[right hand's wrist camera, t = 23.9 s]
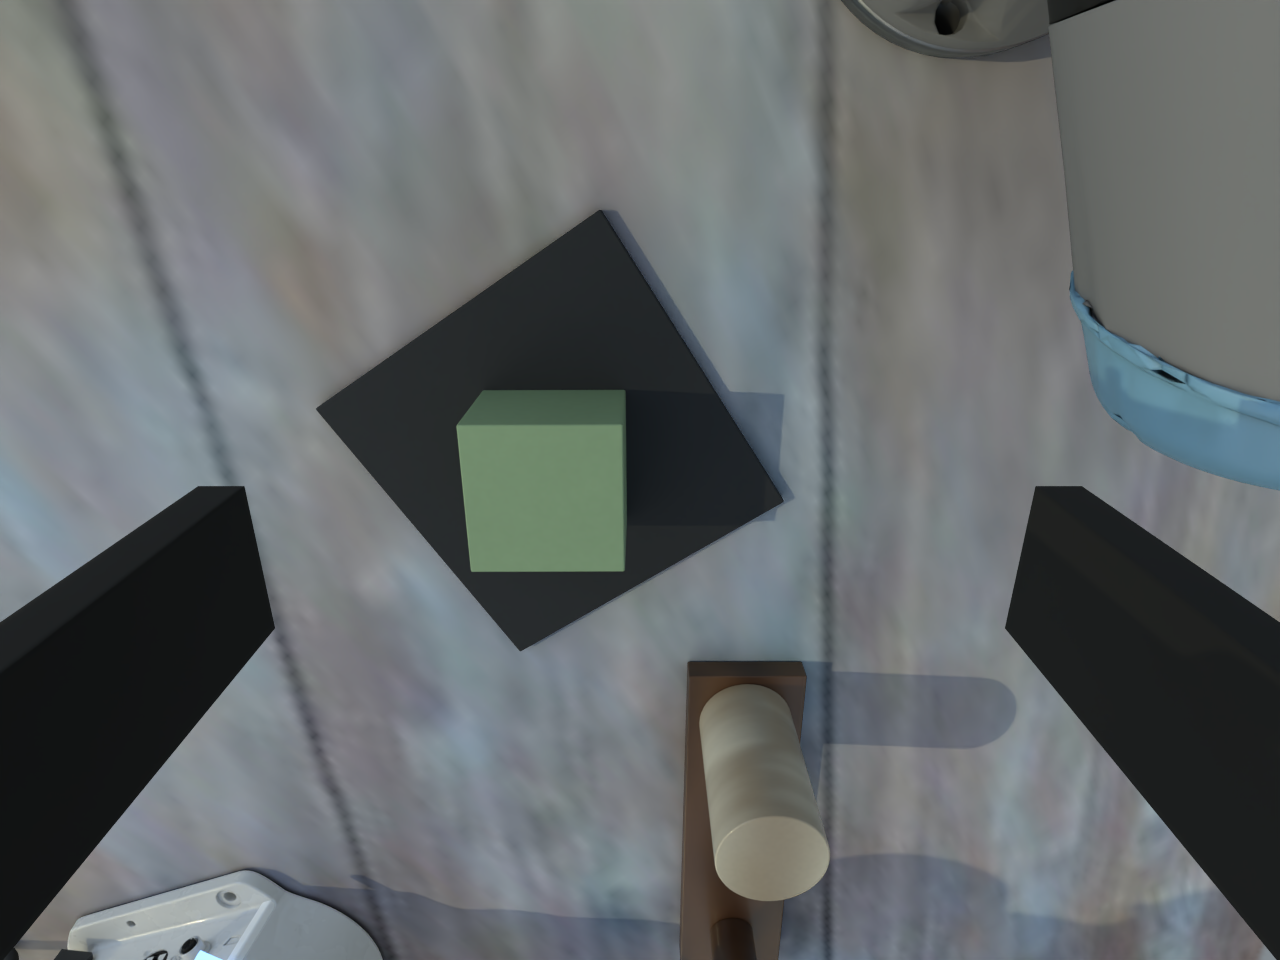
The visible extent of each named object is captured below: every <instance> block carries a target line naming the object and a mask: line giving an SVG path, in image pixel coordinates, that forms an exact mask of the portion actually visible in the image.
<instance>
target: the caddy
mask: <svg viewBox="0 0 1280 960" xmlns="http://www.w3.org/2000/svg"><path fill="white" fill-rule="evenodd" d="M806 678H807V676H806V673H805V670H804V667H803V664H802V662H688V665H687V700H686V735H685V770H684V805H683V841H682V876H681V911H680V960H778V955H779V946H780V936H781V926H782V916H783V906H784V899H789V898H792V897H795V896H798V895H800V894H802V893H804V892H806V891H808V890H809V889H811V888H812V887H813V886H815V885H816V884H817V883H818V882H819V881H820V880H821V878H822V877H823V876H824V874H825V872H826V870H827V868H828V865H829V861H830V849H829V845H828V841H827V838H826V834H825V831H824V827H823V824H822V820H821V817H820V813H819V810H818V806H817V803H816V799H815V796H814V792H813V789H812V785H811V782H810V778H809V775H808V771H807V768H806V764H805V761H804V757H803V754H802V750H801V747H800V738H801V728H802V718H803V708H804V698H805V688H806Z"/></svg>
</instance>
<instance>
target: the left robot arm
mask: <svg viewBox="0 0 1280 960" xmlns="http://www.w3.org/2000/svg"><path fill="white" fill-rule="evenodd" d="M67 947H68V950H65V949H62V950H61V951H60V952H59V954H58V955H57V956H56V958H55V959H54V960H383V958H382V956H381V953H380V951H379V949H378V947H377V945H376V944H375V942H374V941H373V939H372V938H371V937H370V936H369V934H368V933H367V932H366V931H365V930H364V929H363V928H362V927H360V926H359V925H358V924H357V923H356V922H355V921H353V920H352V919H350V918H349V917H347V916H346V915H344V914H343V913H341V912H339V911H337V910H336V909H333V908H331V907H329V906H327V905H325V904H322V903H320V902H317V901H314V900H311V899H308V898H305V897H301V896H298V895H295V894H293V893H290V892H288V891H286V890H284V889H283V888H281V887H280V886H279V885H277V884H276V883H274V882H273V881H271V880H270V879H268V878H266V877H265V876H263V875H261V874H259V873H256V872H253V871H248V870H244V871H238V872H235V873H231V874H228V875H224V876H221V877H218V878H214V879H211V880H207V881H204V882H200V883H197V884H193V885H190V886H186V887H183V888H179V889H176V890H172V891H169V892H166V893H162V894H159V895H155V896H152V897H148V898H145V899H141V900H138V901H134V902H131V903H127V904H124V905H121V906H117V907H114V908H110V909H107V910H103V911H100V912H96V913H93V914H90V915H86V916H84V917H81V918H79V919H78V920H77V921H76V923H75V924H74V926H73V928H72V929H71V931H70V933H69V937H68V945H67ZM4 960H19V955H18V952H17V951H16V950H15V948H13V949H12V950H11V951H10V952H9V953H8V955H7V956H6V957H5V958H4Z"/></svg>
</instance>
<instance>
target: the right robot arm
mask: <svg viewBox="0 0 1280 960" xmlns="http://www.w3.org/2000/svg"><path fill="white" fill-rule="evenodd" d="M841 1H842V2H843V3H844V4H845V5H846V7H847V8H848V9H849V10H850V11H851V12H852V13H853V14H854V15H855V16H856V17H857V18H858V19H859V20H860V21H861V22H862V23H863V24H864V25H866V26H867V27H868V28H870V29H871V30H872V31H874V32H875V33H876V34H878V35H879V36H881V37H883V38H885V39H886V40H888V41H890V42H891V43H894V44H896V45H898V46H900V47H903V48H905V49H908V50H911V51H914V52H917V53H920V54H925V55H930V56H936V57H947V58H967V57H976V56H983V55H989V54H993V53H997V52H1000V51H1004V50H1007V49H1010V48H1013V47H1016V46H1018V45H1021V44H1024V43H1027V42H1029V41H1032V40H1035V39H1037V38H1040V37H1042V36H1044V35H1047V34H1049V38H1050V47H1051V56H1052V65H1053V74H1054V83H1055V92H1056V101H1057V110H1058V119H1059V128H1060V137H1061V146H1062V155H1063V164H1064V173H1065V184H1066V195H1067V206H1068V218H1069V229H1070V240H1071V251H1072V263H1073V271H1072V273H1071V279H1070V289H1069V290H1070V299H1071V302H1072V306H1073V308H1074V310H1075V312H1076V314H1077V316H1078V318H1079V319H1080V321H1081V323H1082V328H1083V333H1084V340H1085V346H1086V352H1087V359H1088V365H1089V371H1090V377H1091V381H1092V385H1093V388H1094V390H1095V393H1096V395H1097V398H1098V399H1099V401H1100V403H1101V404H1102V406H1103V407H1104V409H1105V410H1106V411H1107V413H1108V414H1109V415H1110V416H1111V418H1113V419H1114V420H1115V421H1116V422H1118V423H1119V424H1120V425H1122V426H1123V427H1124V428H1126V429H1127V430H1129V431H1132V432H1133V433H1134V434H1135V435H1136V436H1137V437H1138V439H1139V440H1140V441H1141V442H1143V443H1144V444H1145V445H1147V446H1149V447H1150V448H1152V449H1154V450H1156V451H1158V452H1160V453H1162V454H1164V455H1166V456H1168V457H1170V458H1172V459H1174V460H1177V461H1179V462H1181V463H1183V464H1186V465H1189V466H1191V467H1194V468H1196V469H1199V470H1202V471H1205V472H1208V473H1211V474H1214V475H1217V476H1221V477H1224V478H1227V479H1231V480H1235V481H1238V482H1242V483H1247V484H1251V485H1255V486H1260V487H1265V488H1270V489H1275V490H1280V0H841ZM274 629H275V626H274V622H273V617H272V612H271V608H270V603H269V598H268V594H267V589H266V584H265V580H264V575H263V571H262V566H261V561H260V557H259V552H258V547H257V543H256V538H255V533H254V529H253V524H252V519H251V515H250V510H249V506H248V501H247V496H246V492H245V487H244V486H198V487H196V488H195V489H194V490H192V491H191V492H189V493H188V494H186V495H185V496H183V497H182V498H180V499H179V500H178V501H176V502H175V503H173V504H172V505H170V506H169V507H167V508H166V509H164V510H163V511H162V512H160V513H159V514H157V515H156V516H154V517H153V518H151V519H150V520H149V521H147V522H146V523H144V524H143V525H141V526H140V527H138V528H137V529H135V530H134V531H133V532H131V533H130V534H128V535H127V536H125V537H124V538H122V539H121V540H119V541H118V542H117V543H115V544H114V545H112V546H111V547H109V548H108V549H106V550H105V551H103V552H102V553H101V554H99V555H98V556H96V557H95V558H93V559H92V560H90V561H89V562H87V563H86V564H85V565H83V566H82V567H80V568H79V569H77V570H76V571H74V572H73V573H71V574H70V575H69V576H67V577H66V578H64V579H63V580H61V581H60V582H58V583H57V584H55V585H54V586H53V587H51V588H50V589H48V590H47V591H45V592H44V593H42V594H41V595H39V596H38V597H37V598H35V599H34V600H32V601H31V602H29V603H28V604H26V605H25V606H23V607H22V608H21V609H19V610H18V611H16V612H15V613H13V614H12V615H10V616H9V617H7V618H6V619H5V620H3V621H2V622H0V960H4V958H5V957H6V956H7V955H8V953H9V952H10V951H11V950H12V949H13V947H14V946H15V945H16V944H17V942H18V941H19V940H20V939H21V938H22V936H23V935H24V934H25V933H26V931H27V930H28V929H29V928H30V927H31V925H32V924H33V923H34V922H35V920H36V919H37V918H38V917H39V916H40V914H41V913H42V912H43V911H44V909H45V908H46V907H47V906H48V905H49V903H50V902H51V901H52V900H53V898H54V897H55V896H56V895H57V894H58V892H59V891H60V890H61V889H62V888H63V886H64V885H65V884H66V883H67V881H68V880H69V879H70V878H71V877H72V875H73V874H74V873H75V872H76V870H77V869H78V868H79V867H80V866H81V864H82V863H83V862H84V861H85V859H86V858H87V857H88V856H89V855H90V853H91V852H92V851H93V850H94V848H95V847H96V846H97V845H98V844H99V842H100V841H101V840H102V839H103V837H104V836H105V835H106V834H107V833H108V831H109V830H110V829H111V828H112V826H113V825H114V824H115V823H116V822H117V820H118V819H119V818H120V817H121V815H122V814H123V813H124V812H125V811H126V809H127V808H128V807H129V806H130V804H131V803H132V802H133V801H134V800H135V798H136V797H137V796H138V795H139V793H140V792H141V791H142V790H143V789H144V787H145V786H146V785H147V784H148V783H149V781H150V780H151V779H152V778H153V776H154V775H155V774H156V773H157V772H158V770H159V769H160V768H161V767H162V765H163V764H164V763H165V762H166V761H167V759H168V758H169V757H170V756H171V754H172V753H173V752H174V751H175V750H176V748H177V747H178V746H179V745H180V743H181V742H182V741H183V740H184V739H185V737H186V736H187V735H188V734H189V732H190V731H191V730H192V729H193V728H194V726H195V725H196V724H197V723H198V721H199V720H200V719H201V718H202V717H203V715H204V714H205V713H206V712H207V710H208V709H209V708H210V707H211V706H212V704H213V703H214V702H215V701H216V699H217V698H218V697H219V696H220V695H221V693H222V692H223V691H224V690H225V688H226V687H227V686H228V685H229V684H230V682H231V681H232V680H233V679H234V678H235V676H236V675H237V674H238V673H239V671H240V670H241V669H242V668H243V667H244V665H245V664H246V663H247V662H248V660H249V659H250V658H251V657H252V656H253V654H254V653H255V652H256V651H257V649H258V648H259V647H260V646H261V645H262V643H263V642H264V641H265V640H266V638H267V637H268V636H269V635H270V634H271V632H272V631H273V630H274ZM1005 629H1006V630H1007V631H1008V632H1009V634H1010V635H1011V636H1012V637H1013V638H1014V640H1015V641H1016V642H1017V643H1018V645H1019V646H1020V647H1021V648H1022V649H1023V651H1024V652H1025V653H1026V654H1027V656H1028V657H1029V658H1030V659H1031V660H1032V662H1033V663H1034V664H1035V665H1036V667H1037V668H1038V669H1039V670H1040V671H1041V673H1042V674H1043V675H1044V676H1045V678H1046V679H1047V680H1048V681H1049V682H1050V684H1051V685H1052V686H1053V687H1054V688H1055V690H1056V691H1057V692H1058V693H1059V695H1060V696H1061V697H1062V698H1063V699H1064V701H1065V702H1066V703H1067V704H1068V706H1069V707H1070V708H1071V709H1072V710H1073V712H1074V713H1075V714H1076V715H1077V717H1078V718H1079V719H1080V720H1081V721H1082V723H1083V724H1084V725H1085V726H1086V728H1087V729H1088V730H1089V731H1090V732H1091V734H1092V735H1093V736H1094V737H1095V739H1096V740H1097V741H1098V742H1099V743H1100V745H1101V746H1102V747H1103V748H1104V750H1105V751H1106V752H1107V753H1108V754H1109V756H1110V757H1111V758H1112V759H1113V761H1114V762H1115V763H1116V764H1117V765H1118V767H1119V768H1120V769H1121V770H1122V772H1123V773H1124V774H1125V775H1126V776H1127V778H1128V779H1129V780H1130V781H1131V783H1132V784H1133V785H1134V786H1135V787H1136V789H1137V790H1138V791H1139V792H1140V793H1141V795H1142V796H1143V797H1144V798H1145V800H1146V801H1147V802H1148V803H1149V804H1150V806H1151V807H1152V808H1153V809H1154V811H1155V812H1156V813H1157V814H1158V815H1159V817H1160V818H1161V819H1162V820H1163V822H1164V823H1165V824H1166V825H1167V826H1168V828H1169V829H1170V830H1171V831H1172V833H1173V834H1174V835H1175V836H1176V837H1177V839H1178V840H1179V841H1180V842H1181V844H1182V845H1183V846H1184V847H1185V848H1186V850H1187V851H1188V852H1189V853H1190V855H1191V856H1192V857H1193V858H1194V859H1195V861H1196V862H1197V863H1198V864H1199V866H1200V867H1201V868H1202V869H1203V870H1204V872H1205V873H1206V874H1207V875H1208V877H1209V878H1210V879H1211V880H1212V881H1213V883H1214V884H1215V885H1216V886H1217V888H1218V889H1219V890H1220V891H1221V892H1222V894H1223V895H1224V896H1225V897H1226V898H1227V900H1228V901H1229V902H1230V903H1231V905H1232V906H1233V907H1234V908H1235V909H1236V911H1237V912H1238V913H1239V914H1240V916H1241V917H1242V918H1243V919H1244V920H1245V922H1246V923H1247V924H1248V925H1249V927H1250V928H1251V929H1252V930H1253V931H1254V933H1255V934H1256V935H1257V936H1258V938H1259V939H1260V940H1261V941H1262V942H1263V944H1264V945H1265V946H1266V947H1267V949H1268V950H1269V951H1270V952H1271V953H1272V955H1273V956H1274V957H1275V958H1276V959H1277V960H1280V622H1278V621H1277V620H1275V619H1274V618H1273V617H1271V616H1270V615H1268V614H1267V613H1265V612H1264V611H1262V610H1261V609H1259V608H1258V607H1257V606H1255V605H1254V604H1252V603H1251V602H1249V601H1248V600H1246V599H1245V598H1243V597H1242V596H1241V595H1239V594H1238V593H1236V592H1235V591H1233V590H1232V589H1230V588H1229V587H1227V586H1226V585H1225V584H1223V583H1222V582H1220V581H1219V580H1217V579H1216V578H1214V577H1213V576H1211V575H1210V574H1209V573H1207V572H1206V571H1204V570H1203V569H1201V568H1200V567H1198V566H1197V565H1195V564H1194V563H1193V562H1191V561H1190V560H1188V559H1187V558H1185V557H1184V556H1182V555H1181V554H1179V553H1178V552H1177V551H1175V550H1174V549H1172V548H1171V547H1169V546H1168V545H1166V544H1165V543H1163V542H1162V541H1161V540H1159V539H1158V538H1156V537H1155V536H1153V535H1152V534H1150V533H1149V532H1147V531H1146V530H1145V529H1143V528H1142V527H1140V526H1139V525H1137V524H1136V523H1134V522H1133V521H1131V520H1130V519H1129V518H1127V517H1126V516H1124V515H1123V514H1121V513H1120V512H1118V511H1117V510H1116V509H1114V508H1113V507H1111V506H1110V505H1108V504H1107V503H1105V502H1104V501H1102V500H1101V499H1100V498H1098V497H1097V496H1095V495H1094V494H1092V493H1091V492H1089V491H1088V490H1086V489H1085V488H1084V487H1082V486H1036V487H1035V492H1034V496H1033V501H1032V506H1031V510H1030V515H1029V519H1028V524H1027V529H1026V533H1025V538H1024V543H1023V547H1022V552H1021V557H1020V561H1019V566H1018V570H1017V575H1016V580H1015V584H1014V589H1013V594H1012V598H1011V603H1010V608H1009V612H1008V617H1007V622H1006V626H1005Z"/></svg>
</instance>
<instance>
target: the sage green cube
mask: <svg viewBox="0 0 1280 960" xmlns="http://www.w3.org/2000/svg"><path fill="white" fill-rule="evenodd" d="M456 427H457V437H458V447H459V457H460V467H461V477H462V487H463V497H464V507H465V517H466V527H467V537H468V547H469V557H470V567H471V571H472V572H578V571H624V570H625V555H626V529H627V479H626V391H625V390H483V391H482V392H481V394H480V395H479V396H478V398H477V399H476V400H475V402H474V403H473V404H472V406H471V407H470V408H469V410H468V411H467V412H466V414H465V415H464V416H463V418H462V419H461V420H460V422H459V423H458V424H457V426H456Z"/></svg>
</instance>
